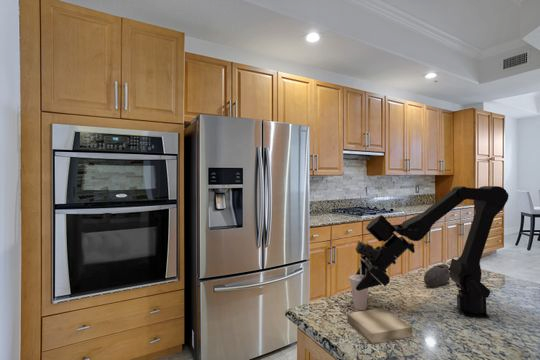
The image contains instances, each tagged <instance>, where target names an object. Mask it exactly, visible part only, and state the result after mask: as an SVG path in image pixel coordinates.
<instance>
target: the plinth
mask: <svg viewBox="0 0 540 360" xmlns="http://www.w3.org/2000/svg"><path fill="white" fill-rule="evenodd" d="M346 314H347V315H346V317H347V319H346V321H347V323H348V324H349V325H350V326H351V327H352V328H353V329H355V330H356V332H358V333H359V334H360V335H362V336H363V337H364V338H365V339H366V340H367V341H368V342H369V343H371V344H372V345H374V344H381V343H385V342H390V341H396V340H402V339H405V338H411V337H413V326H412V325H411V324H408V323H407V322H405V321H404V320H402V319H401V318H400V317H397V316H396V315H395V314H393V313H392V312H391V311H388V310H387V309H385V308H384V307H380V308H374V309H368V310H367V309H365V310H358V311H353V312H348V313H346Z"/></svg>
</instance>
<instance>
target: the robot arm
mask: <svg viewBox="0 0 540 360" xmlns="http://www.w3.org/2000/svg"><path fill="white" fill-rule="evenodd" d="M465 200H470V201H471V200H472V201H473V206H474V216H473V218H472V219H473V220H472V222H471V224H470V225H471V226H470V229H469V232H468V235H467V237H466V240H465V244H464V246H463V251H462V252H461V255H460V256H459V257H458V258H457V259H455V258H451V260H450V266H448V267H449V269H448V270H449V276H450V279H451V281H453V282H454V283H455V285H456V288H458V294H456V308H457V309H458V310H459V311H460V312H461V313H462V314H463V316H465V317H474V318H476V317H477V318H490V315H489V314H488V313H487V298H489V297H490V294H491V290H490V289H489V288H488V287H487V286H485V284H483V283H482V282H481V281H482V268H481V259H482V256H483V253H484V250H485V247H486V244H487V241H488V239H489V235H490V231H491V229H492V226H493V223H494V219H495V217H496V216H497V215H498V214H500V212H501V211H502V210H503V209H504V208H505V205H506V203H507V202H508V201H509V192H508V191H507V189H505V188H504V187H502V186H496V185H490V186H489V185H484V186H480V187H467V186H459V185H458V186H454V187H452V188H451V190H450V191H449V192H447V193H446V194H445V195H443V196H442V197H441V198H440V199H438V200H437V201H436V202H434V203H433V204H432V205H431V206H430V207H428V208H427V209H426V210H424V211H423V212H421V213H420V214H417V215H414V216H412V217H410V218H408V219H406V220H404V221H403V222H402V223H400V224H398V223H397V224H391V223H390V222H389V221H388V220H387V219H386V217H385V216H384V215H382V214H380V215H379V216H377V217H375V218H374V219H373V220H370V222H369V223H368V224H367V225H366V227H365V229H366V230H365V231H367V232H368V233H370V234H371V236H373V237H374V238H375V239H376V240H377V241H378V242H384V244H382V245H381V246H380V245H379V246H376V247H374V246H373V245H370V244H369V243H364V242H362V241H360V240H359V241H358V244H357V245H356V247H355V251H356V253H357V254H358V255H359V257H360V259H359V265H360V264H362V275H364V277H363V278H362V280H361V281H360V282H359V284H358V285H357V286H356V290H358V291H360V290H363V289H366V288H368V289H370V288H373V287H377V286H378V287H379V286H384V287H386V286H387V285H389V283H390V281H391V280H390V279H391V278H390V276H389V275H388V274H387V269H388V268H389V267H390V266H391V265H392V264H393V265H396V264H397V262H396V260H398V259H399V257H401V256H402V254H404V253H405V252H406V251H407V250H409V252H411V253H412V254H414V253H415V244H414V242H419V241H422V240H423V239H424V238H425V236H426V235H427V234H428V233H429V232H430V231H431V228H432V227H433V226H434V224H435V223H437V222H438V221H439V220H440V219H442V218H443V217H444V216H446V215H447V214H448V213H450V212H451V211H452V210H454V209H455V208H456V207H458V206H459V205H460V204H461V203H463V202H464V201H465ZM395 233H396V234H398V235H400V236H398V235H396V234H395ZM406 238H407V239H408V240H410V241H413V242H409V241H408V240H407V239H406ZM355 275H360V267H359V268H358V269H357V272H356V274H355Z"/></svg>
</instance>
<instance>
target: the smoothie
mask: <svg viewBox="0 0 540 360" xmlns="http://www.w3.org/2000/svg"><path fill="white" fill-rule="evenodd" d="M359 268H360V275H356V274H351V275H349V277H348V280H349V281H350V282H349V281H348V282H349V283H350V288H351V294H352V295H351V296H352V302H353V307H354V309H355V310H357V309H358V311H365V310H367V302H368V294H369V293H368V291H369V288H366V289H363V290H360V291H358V290H356V286H357V285H358V284H359V282H360V281H361V280H362V278H363V277H364V275H362V264H360V263H359Z"/></svg>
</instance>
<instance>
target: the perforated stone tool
mask: <svg viewBox="0 0 540 360" xmlns="http://www.w3.org/2000/svg"><path fill="white" fill-rule="evenodd" d="M449 267H450V266H449V265H448V264H445V263H442V264H438V265H435V266H433V267H431V268H429V269H428V270H426V272H425V274H424V276H423V281H424V284H425V285H426V286H427V287H431V288H432V287H437V286H441V285H442V286H443V285H444V284H446V283H448V282H449V281H450V279H451V278H450V276H449V272H450V271H449V270H448V269H449Z"/></svg>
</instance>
